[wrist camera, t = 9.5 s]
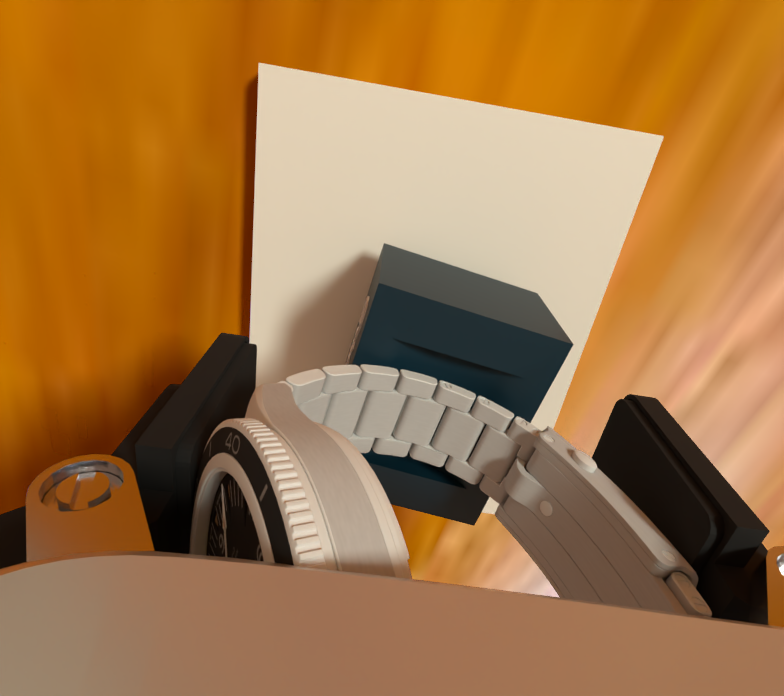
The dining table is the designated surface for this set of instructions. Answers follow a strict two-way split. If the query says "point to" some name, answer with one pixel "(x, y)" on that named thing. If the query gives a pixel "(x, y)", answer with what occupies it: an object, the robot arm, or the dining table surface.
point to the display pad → (426, 209)
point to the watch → (430, 449)
